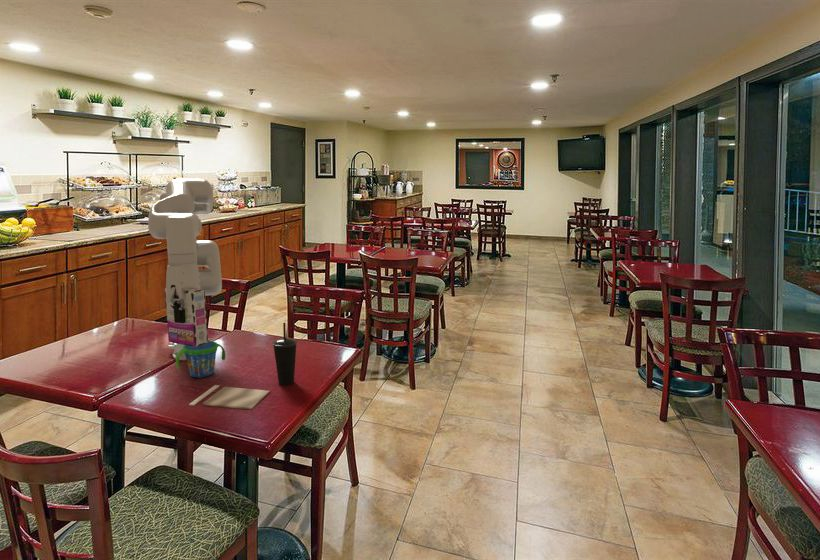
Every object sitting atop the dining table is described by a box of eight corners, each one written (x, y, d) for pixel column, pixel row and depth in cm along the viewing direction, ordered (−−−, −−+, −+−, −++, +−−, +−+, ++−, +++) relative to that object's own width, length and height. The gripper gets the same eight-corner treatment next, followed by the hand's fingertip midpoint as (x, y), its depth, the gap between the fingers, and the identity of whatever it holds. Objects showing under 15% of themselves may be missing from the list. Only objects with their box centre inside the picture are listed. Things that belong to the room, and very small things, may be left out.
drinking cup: (276, 378, 166) (274, 319, 162) (299, 377, 167) (298, 319, 163) (271, 387, 159) (269, 326, 155) (296, 387, 160) (294, 326, 156)
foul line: (189, 405, 146) (188, 404, 146) (215, 385, 159) (214, 385, 159) (193, 405, 146) (193, 404, 146) (219, 386, 159) (219, 385, 159)
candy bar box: (209, 342, 150) (205, 288, 147) (196, 347, 145) (192, 292, 142) (181, 337, 154) (177, 285, 151) (167, 342, 150) (163, 288, 146)
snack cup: (222, 364, 177) (220, 337, 175) (230, 374, 169) (229, 345, 167) (173, 373, 168) (171, 344, 166) (180, 384, 160) (178, 354, 158)
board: (202, 404, 146) (202, 403, 146) (224, 388, 158) (224, 386, 158) (251, 409, 144) (251, 407, 144) (269, 392, 155) (269, 390, 155)
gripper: (189, 254, 154) (193, 311, 157) (150, 263, 137) (155, 327, 141) (211, 255, 152) (215, 313, 156) (175, 264, 136) (180, 328, 139)
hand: (186, 319), depth 148 cm, fingers closed on candy bar box, 5 cm apart
